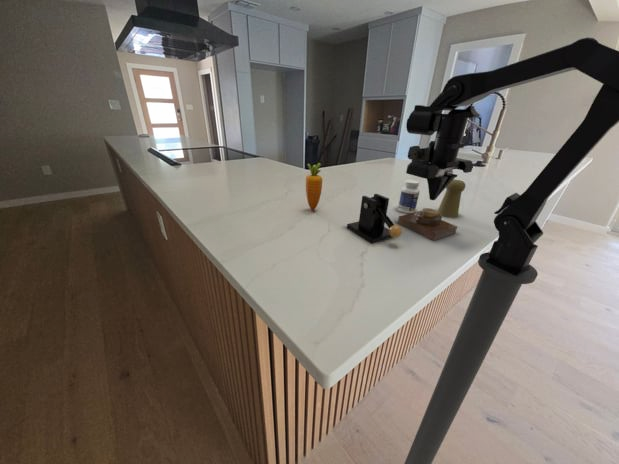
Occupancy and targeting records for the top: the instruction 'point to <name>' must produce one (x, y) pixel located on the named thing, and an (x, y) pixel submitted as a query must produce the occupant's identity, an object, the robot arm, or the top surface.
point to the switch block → (427, 225)
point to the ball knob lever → (387, 220)
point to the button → (429, 213)
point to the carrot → (313, 186)
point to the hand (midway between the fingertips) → (432, 199)
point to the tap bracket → (371, 220)
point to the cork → (451, 199)
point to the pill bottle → (409, 197)
